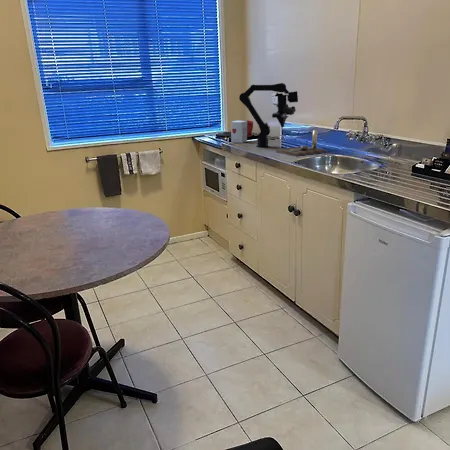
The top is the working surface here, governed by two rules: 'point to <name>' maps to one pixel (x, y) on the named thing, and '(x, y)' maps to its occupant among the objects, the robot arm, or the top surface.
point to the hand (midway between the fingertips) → (282, 127)
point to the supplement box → (239, 131)
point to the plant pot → (249, 128)
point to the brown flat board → (299, 151)
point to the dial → (314, 142)
